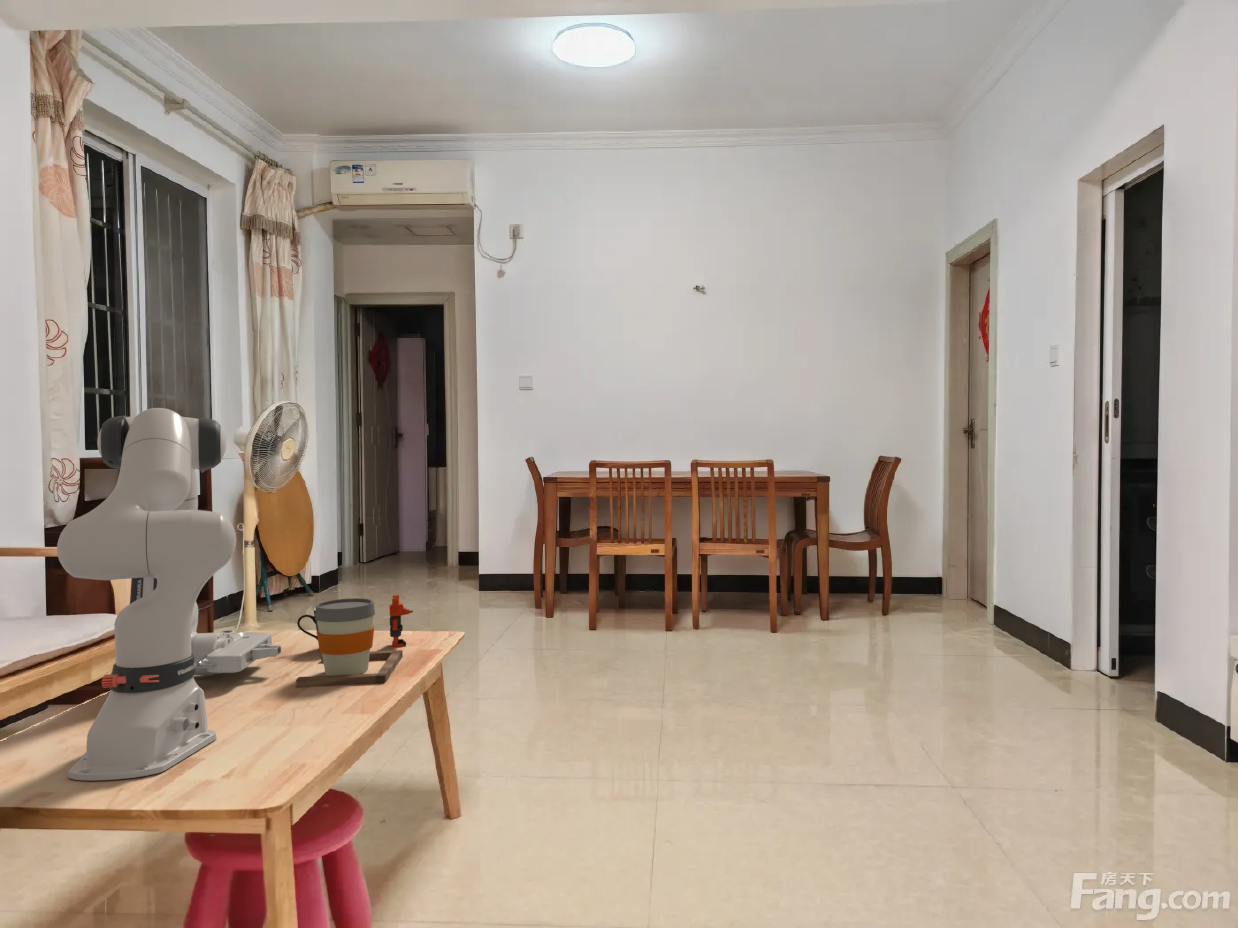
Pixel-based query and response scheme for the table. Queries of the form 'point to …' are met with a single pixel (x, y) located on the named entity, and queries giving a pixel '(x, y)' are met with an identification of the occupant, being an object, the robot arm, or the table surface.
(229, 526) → the robot arm
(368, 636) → the reusable coffee cup
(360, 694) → the table surface
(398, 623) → the toy animal
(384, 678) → the walnut bay
